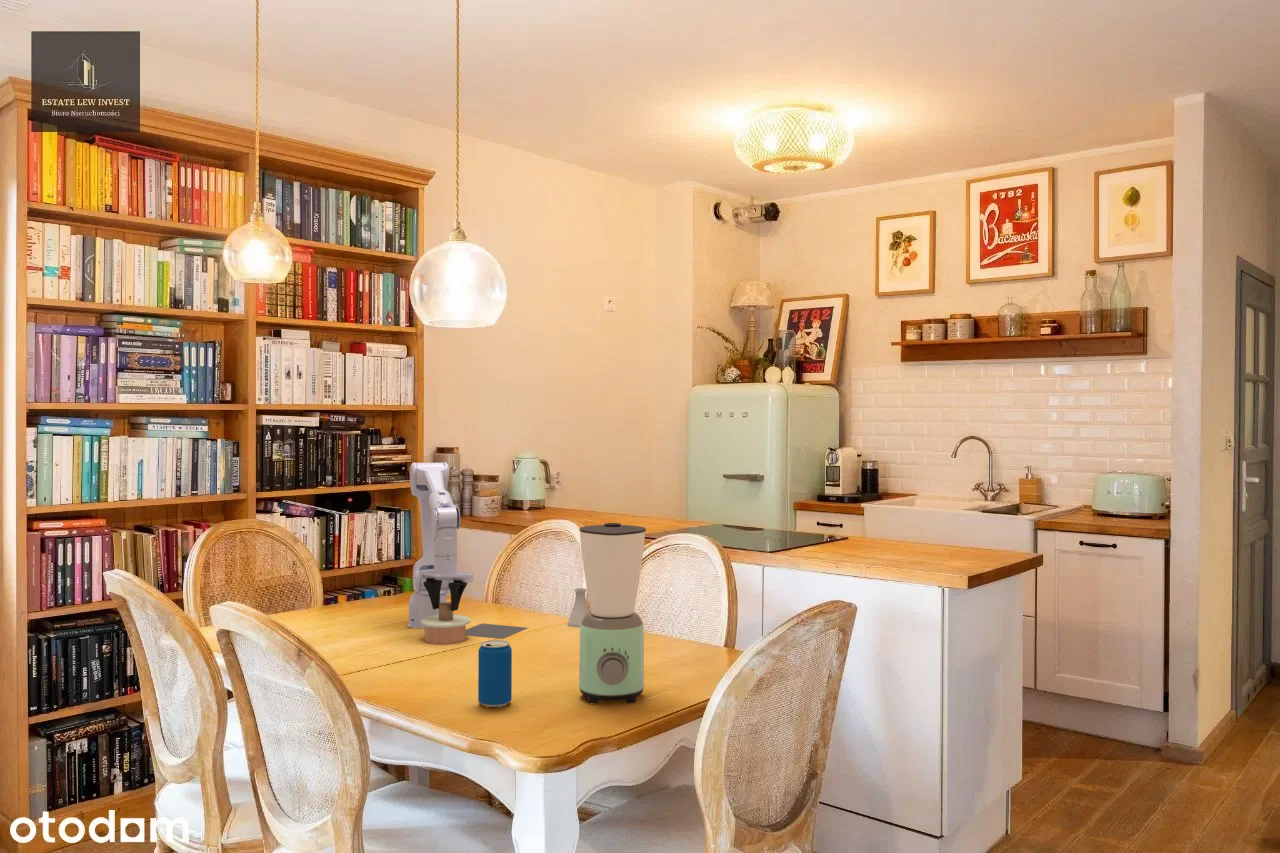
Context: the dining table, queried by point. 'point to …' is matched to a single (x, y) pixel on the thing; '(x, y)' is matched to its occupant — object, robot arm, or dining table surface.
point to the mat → (493, 631)
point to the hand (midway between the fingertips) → (445, 609)
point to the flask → (578, 608)
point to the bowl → (445, 635)
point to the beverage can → (494, 673)
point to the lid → (445, 618)
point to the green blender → (612, 613)
